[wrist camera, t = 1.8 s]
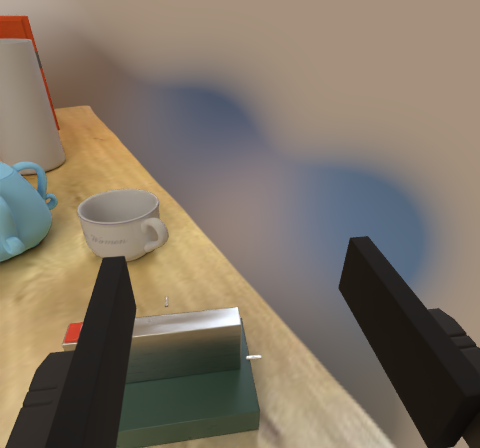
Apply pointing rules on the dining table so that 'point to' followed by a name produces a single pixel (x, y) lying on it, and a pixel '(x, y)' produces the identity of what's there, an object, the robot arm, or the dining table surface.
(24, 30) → the clamp
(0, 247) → the decorative pot
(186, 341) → the red-tipped metal bar
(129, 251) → the teacup
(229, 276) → the dining table surface
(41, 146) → the cylinder vase
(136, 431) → the green block
